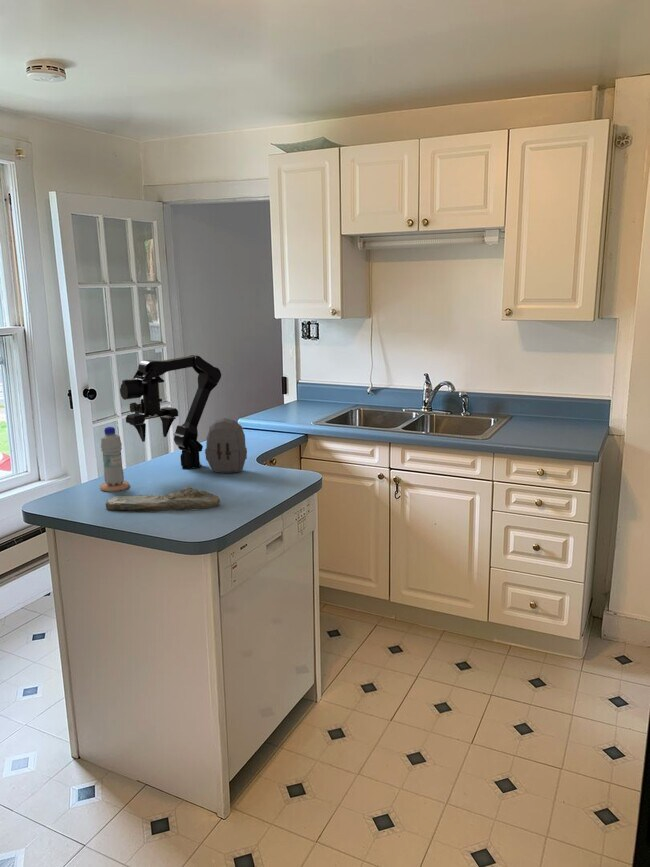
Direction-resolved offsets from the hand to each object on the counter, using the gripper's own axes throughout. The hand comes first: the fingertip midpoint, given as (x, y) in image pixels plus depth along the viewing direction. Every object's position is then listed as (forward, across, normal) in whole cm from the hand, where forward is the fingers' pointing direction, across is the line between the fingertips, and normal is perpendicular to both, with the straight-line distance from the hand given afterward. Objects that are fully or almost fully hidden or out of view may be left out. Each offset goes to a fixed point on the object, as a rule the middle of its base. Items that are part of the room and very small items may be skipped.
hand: (154, 439), depth 241 cm
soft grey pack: (+13, -17, +19) cm, 28 cm away
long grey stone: (+14, +21, +31) cm, 40 cm away
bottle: (+12, +18, +2) cm, 22 cm away
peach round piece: (+13, +19, +2) cm, 23 cm away
